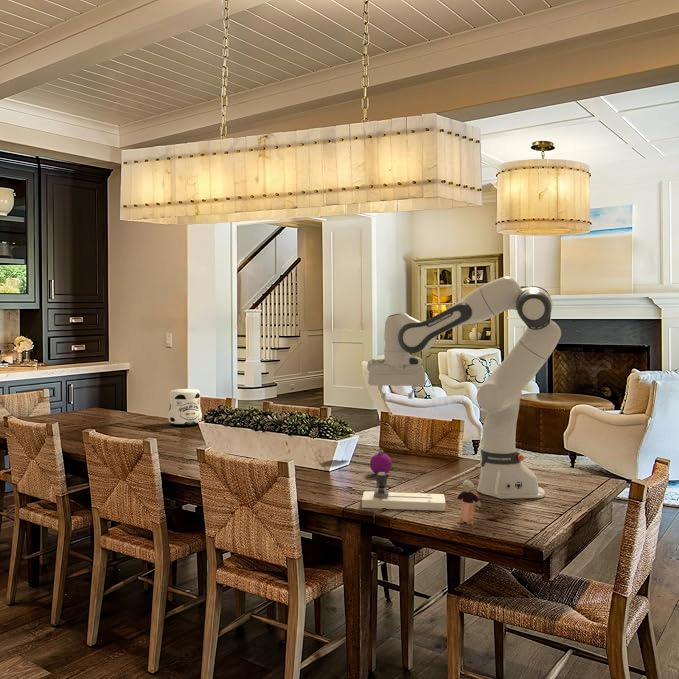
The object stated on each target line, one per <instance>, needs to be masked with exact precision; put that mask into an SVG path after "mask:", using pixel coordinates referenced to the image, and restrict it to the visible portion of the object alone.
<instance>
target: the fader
mask: <svg viewBox="0 0 679 679" xmlns="http://www.w3.org/2000/svg"><path fill="white" fill-rule="evenodd" d="M387 474H388V473H387ZM387 474H385V472H378V474H376V488H377V489H374V491H373V492H374V497H388V494H389V492H390V491H389V490H388V489H387V485H388V481H387V480H388V475H387Z"/></svg>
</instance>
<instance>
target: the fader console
mask: <svg viewBox="0 0 679 679" xmlns="http://www.w3.org/2000/svg"><path fill="white" fill-rule="evenodd" d="M374 492H375V491H368V490H366V491H363V492H362V493H363V495H362V498H361V508H362V509H364V508H365V509H382V508H386V509H387V510H390V509H391V510H414V511H416V510H417V511H433V512H434V511H436V512H437V511H440V512H443V511H444V512H446V498H445V494H443V493H428V492H427V493H424V492H423V493H422V492H421V493H419V492H418V493H417V492H395V491H391V492H390V491H389V494H388V497H374Z"/></svg>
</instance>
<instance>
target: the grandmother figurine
mask: <svg viewBox="0 0 679 679" xmlns="http://www.w3.org/2000/svg"><path fill="white" fill-rule="evenodd" d="M462 486H463V491H462V492H460V493H459V494H458V496H457V497H456V500H455V504H457V505H458V504H459V503H460V502H461V507H460V518H459V519H458V521H457V522H458V523H459V524H464V522H465V523H467V525H469V524H472V525H474V514H475V513H474V511H475V509H474V502H475V503H476V505H477V507H481V506H482V503H481V501H480V500H481V499H480V498H479V497H478V496H477V494H475V493H474V492H472V491H473V489H474V488H475V485H474V483H473V482H472V481H471V480H470V479H465V480H464V481H463V482H462Z"/></svg>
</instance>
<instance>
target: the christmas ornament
mask: <svg viewBox="0 0 679 679" xmlns="http://www.w3.org/2000/svg"><path fill="white" fill-rule="evenodd" d="M392 462H393V461H392V459H391V457H390V456H389V455H388V454H386V453H384V450H383V448H380V450H378V453H376V454H374V455H373V456H372V457H371V458H370V461H369V466H370V470H371V472H373V473H374V474H375V475H377V474H378V472H385V474H388V473H390V471H391V470H392V466H393V464H392Z"/></svg>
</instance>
